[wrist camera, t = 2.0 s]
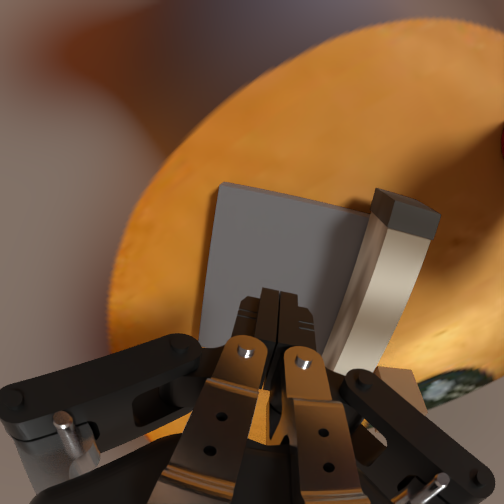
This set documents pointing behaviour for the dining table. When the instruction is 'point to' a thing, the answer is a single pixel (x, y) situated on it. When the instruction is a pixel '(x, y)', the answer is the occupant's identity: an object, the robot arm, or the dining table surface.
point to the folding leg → (380, 281)
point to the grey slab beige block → (285, 264)
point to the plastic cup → (502, 143)
